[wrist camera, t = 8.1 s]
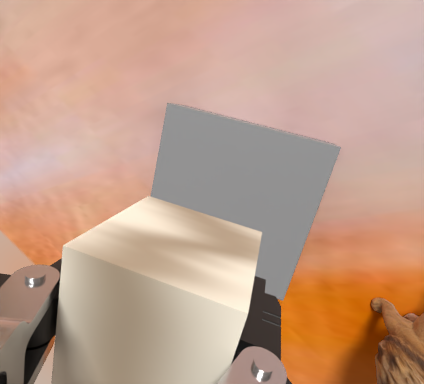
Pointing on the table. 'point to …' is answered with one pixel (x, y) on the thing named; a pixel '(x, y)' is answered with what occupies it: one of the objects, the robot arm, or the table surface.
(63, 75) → the table surface
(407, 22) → the table surface
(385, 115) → the table surface
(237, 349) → the robot arm
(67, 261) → the wooden block
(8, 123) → the table surface
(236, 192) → the base
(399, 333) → the lion figurine
